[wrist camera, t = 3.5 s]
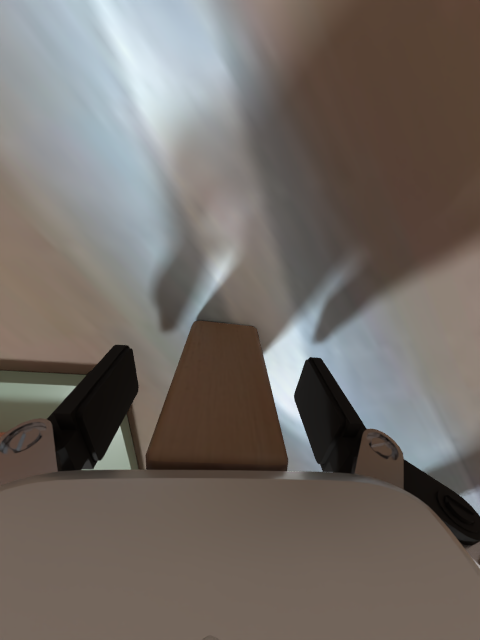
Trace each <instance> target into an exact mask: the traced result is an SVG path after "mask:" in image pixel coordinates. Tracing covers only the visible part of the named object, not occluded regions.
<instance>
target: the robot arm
mask: <svg viewBox="0 0 480 640" xmlns="http://www.w3.org/2000/svg"><path fill="white" fill-rule="evenodd" d="M137 392H138V380H137V374H136V368H135V362H134V356H133V350H132V349H130V348H129V346H127V345H114V346H113V347H112V349H111V350H110V351H109V352H108V353H107V354H106V355H105V356H104V357H103V359H102V360H101V361H100V362H99V363H98V364H97V365H96V366H95V367H94V368H93V370H92V371H90V372H89V373H88V374H87V375H86V376H85V377H84V378H83V380H82V381H81V382H80V383H79V384H78V385H77V386H76V387H75V388H74V389H73V391H72V392H71V393H70V394H69V395H68V396H67V397H66V398H65V399H64V400H63V402H62V403H61V404H60V405H59V406H58V407H57V408H56V409H55V410H54V412H53V413H52V414H51V415H50V416H49V417H48V418H47V419H43V418H38V419H32V420H29V421H26V422H23V423H21V424H19V425H17V426H15V427H13V428H12V429H10V430H9V431H7V432H6V433H5V434H4V435H2V436H1V437H0V640H480V516H479V515H478V514H477V512H476V511H475V510H474V509H473V508H472V506H471V505H470V504H469V503H467V502H466V501H465V500H464V499H463V498H462V497H460V496H459V495H458V494H456V493H455V492H454V491H452V490H450V489H449V488H447V487H446V486H444V485H443V484H441V483H440V482H438V481H437V480H435V479H433V478H432V477H430V476H429V475H427V474H426V473H424V472H423V471H421V470H420V469H418V468H417V467H415V466H413V465H412V464H410V463H409V462H407V461H406V460H404V458H403V453H402V451H401V449H400V447H399V446H398V445H397V444H396V442H395V441H394V440H393V439H392V438H390V437H389V436H388V435H386V434H385V433H383V432H381V431H379V430H375V429H366V427H365V426H364V424H363V422H362V421H361V419H360V418H359V416H358V415H357V413H356V412H355V410H354V408H353V407H352V405H351V404H350V402H349V401H348V399H347V398H346V396H345V394H344V393H343V391H342V390H341V388H340V387H339V385H338V384H337V382H336V381H335V379H334V377H333V376H332V374H331V373H330V371H329V370H328V368H327V367H326V365H325V364H324V362H323V360H322V359H321V358H312V357H310V358H309V359H308V360H306V361H305V364H304V367H303V370H302V373H301V376H300V379H299V382H298V385H297V388H296V391H295V394H294V399H295V402H296V405H297V408H298V411H299V414H300V417H301V419H302V422H303V425H304V428H305V431H306V434H307V436H308V439H309V442H310V445H311V448H312V451H313V453H314V456H315V459H316V461H317V463H318V464H320V465H321V468H322V470H323V472H307V471H244V470H81V469H94V467H95V465H96V463H97V461H100V460H102V459H103V457H104V455H105V453H106V452H107V450H108V448H109V446H110V444H111V442H112V440H113V438H114V436H115V434H116V433H117V431H118V429H119V427H120V425H121V423H122V421H123V419H124V417H125V415H126V414H127V412H128V410H129V408H130V406H131V404H132V402H133V400H134V398H135V397H136V395H137Z"/></svg>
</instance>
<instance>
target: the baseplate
mask: <svg viewBox="0 0 480 640" xmlns="http://www.w3.org/2000/svg"><path fill="white" fill-rule="evenodd" d="M85 376H86V375H78V374H59V373H40V372H20V371H1V370H0V432H7V431H9V430H10V429H12V428H13V427H15V426H17V425H19V424H21V423H23V422H26V421H29V420H32V419H38V418H43V419H47V418H48V417H49V416H50V415H51V414H52V413H53V412H54V410H55V409H56V408H57V407H58V406H59V405H60V404H61V403H62V402H63V400H64V399H65V398H66V397H67V396H68V395H69V394H70V393H71V392H72V391H73V389H74V388H75V387H76V386H77V385H78V384H79V383H80V382H81V381H82V380H83V378H84V377H85ZM81 470H139V469H138V464H137V460H136V455H135V450H134V446H133V441H132V437H131V432H130V427H129V423H128V418H127V414H126V415H125V417H124V419H123V421H122V423H121V425H120V427H119V429H118V431H117V433H116V434H115V436H114V438H113V440H112V442H111V444H110V446H109V448H108V450H107V452H106V453H105V455H104V457H103V459H102V460H100V461H97V463H96V465H95V467H94V469H81Z"/></svg>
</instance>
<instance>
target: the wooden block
mask: <svg viewBox="0 0 480 640" xmlns="http://www.w3.org/2000/svg"><path fill="white" fill-rule="evenodd" d="M287 467H288V457H287V453H286V449H285V445H284V440H283V436H282V432H281V428H280V424H279V420H278V415H277V411H276V407H275V403H274V399H273V394H272V390H271V386H270V382H269V378H268V374H267V369H266V365H265V361H264V357H263V353H262V349H261V344H260V340H259V336H258V332H257V329H256V328H255V327H253V326H246V325H237V324H228V323H219V322H209V321H200V320H199V321H195V322H194V323H193V325H192V327H191V329H190V332H189V335H188V338H187V341H186V344H185V346H184V349H183V352H182V355H181V358H180V360H179V363H178V366H177V369H176V372H175V374H174V377H173V380H172V383H171V386H170V388H169V391H168V394H167V397H166V400H165V402H164V405H163V408H162V411H161V414H160V417H159V419H158V422H157V425H156V428H155V431H154V433H153V436H152V439H151V442H150V445H149V447H148V450H147V453H146V469H147V470H244V471H287Z"/></svg>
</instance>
